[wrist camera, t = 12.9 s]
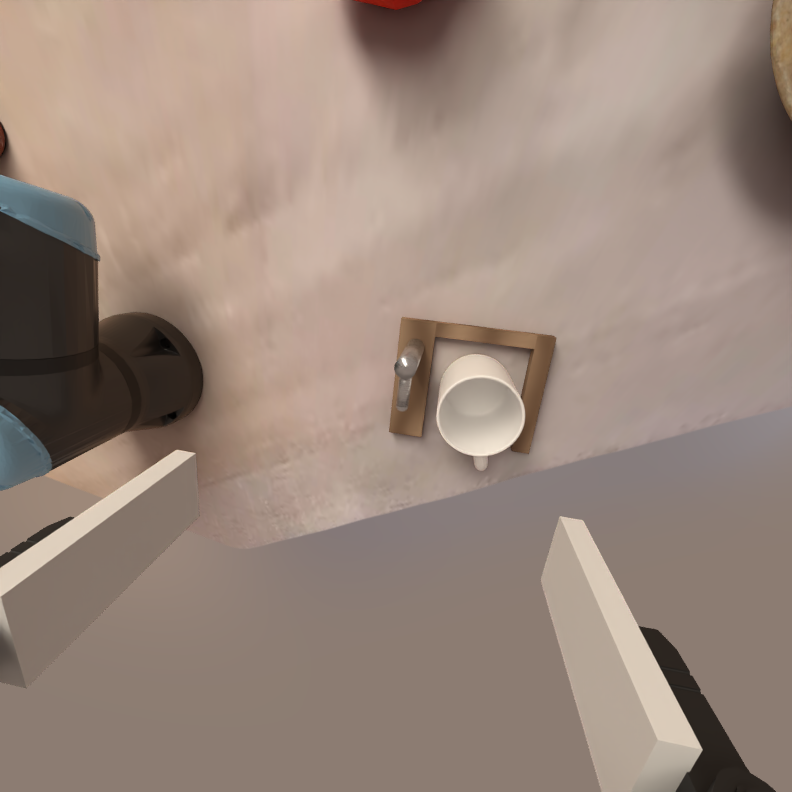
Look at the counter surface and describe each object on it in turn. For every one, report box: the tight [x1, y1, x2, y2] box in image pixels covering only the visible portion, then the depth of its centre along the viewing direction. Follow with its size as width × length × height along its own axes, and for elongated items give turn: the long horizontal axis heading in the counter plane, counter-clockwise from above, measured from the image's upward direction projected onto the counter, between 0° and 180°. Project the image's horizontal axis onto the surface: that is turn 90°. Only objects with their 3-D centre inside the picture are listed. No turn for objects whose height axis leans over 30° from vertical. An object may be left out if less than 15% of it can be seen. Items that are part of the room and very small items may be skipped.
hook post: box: [394, 338, 424, 412], centre depth 40 cm, size 2×6×10 cm, turn 174°
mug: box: [436, 354, 525, 471], centre depth 42 cm, size 12×8×10 cm
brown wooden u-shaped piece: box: [389, 317, 556, 454], centre depth 46 cm, size 17×14×2 cm
